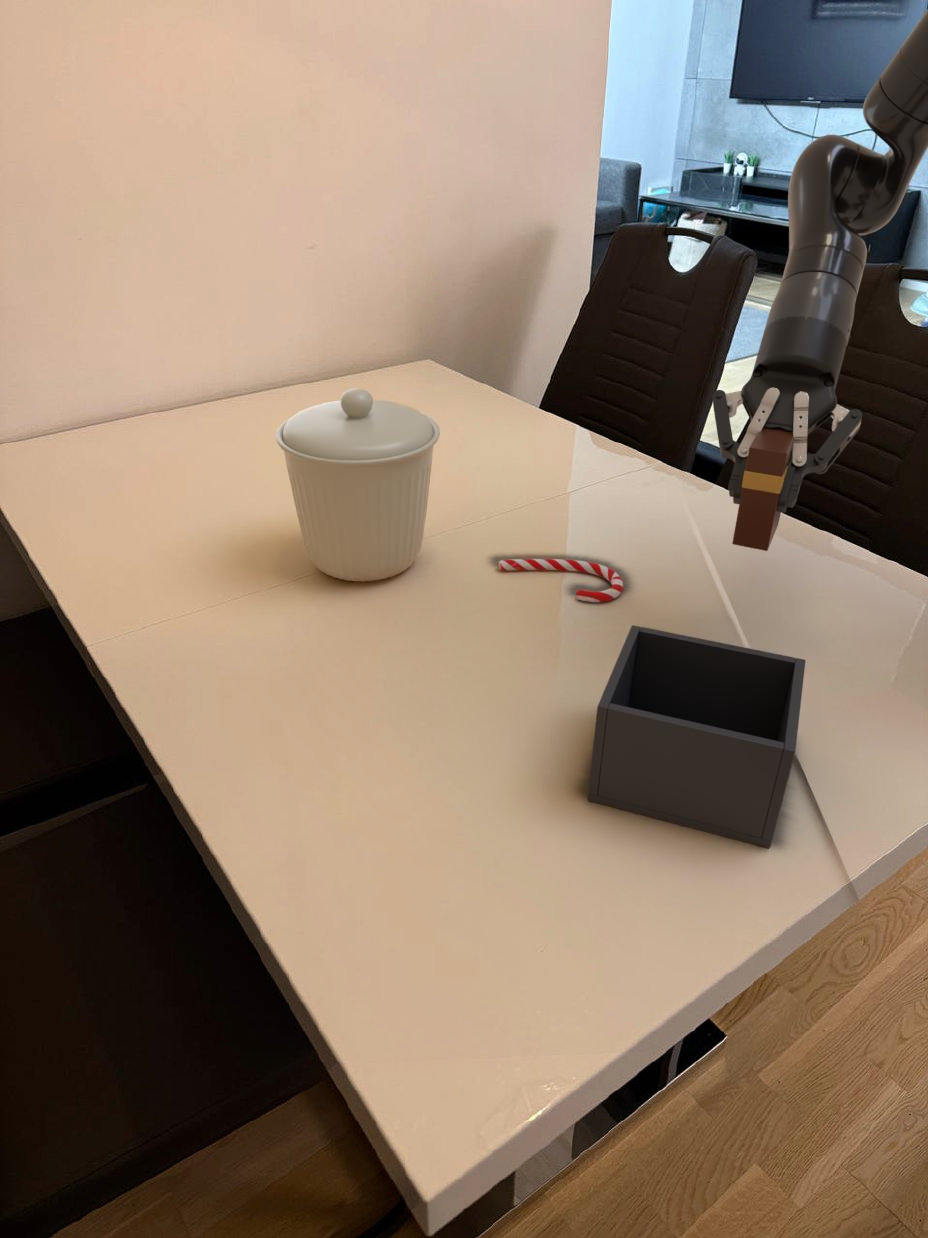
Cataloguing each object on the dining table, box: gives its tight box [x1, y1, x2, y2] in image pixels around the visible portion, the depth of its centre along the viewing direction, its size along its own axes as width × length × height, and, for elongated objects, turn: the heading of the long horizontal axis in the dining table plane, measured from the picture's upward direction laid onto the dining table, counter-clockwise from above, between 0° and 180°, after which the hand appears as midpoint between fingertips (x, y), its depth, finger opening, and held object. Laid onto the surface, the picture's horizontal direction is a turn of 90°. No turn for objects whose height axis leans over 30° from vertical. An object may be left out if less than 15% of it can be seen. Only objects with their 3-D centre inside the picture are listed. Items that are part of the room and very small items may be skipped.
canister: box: [275, 387, 441, 582], centre depth 105 cm, size 18×18×21 cm
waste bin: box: [586, 624, 806, 849], centre depth 76 cm, size 15×13×10 cm
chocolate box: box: [731, 428, 794, 552], centre depth 84 cm, size 3×6×10 cm, turn 155°
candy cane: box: [497, 558, 624, 603], centre depth 106 cm, size 8×1×15 cm
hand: (759, 504), depth 83 cm, fingers closed on chocolate box, 3 cm apart
